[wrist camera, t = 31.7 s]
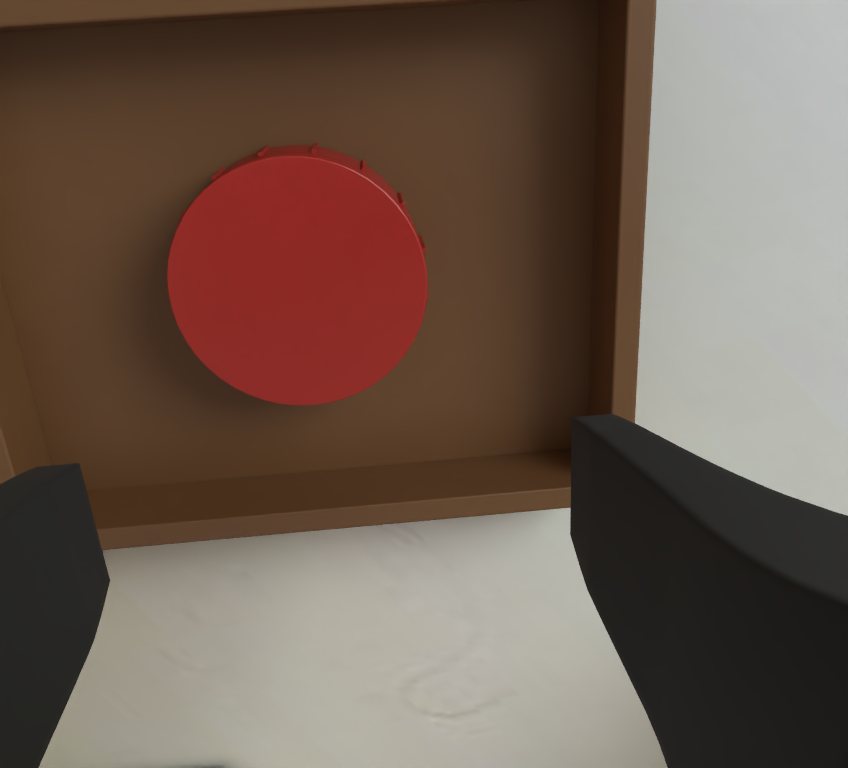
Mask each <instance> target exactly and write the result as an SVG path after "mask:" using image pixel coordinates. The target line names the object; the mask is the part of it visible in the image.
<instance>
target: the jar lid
mask: <svg viewBox="0 0 848 768" xmlns="http://www.w3.org/2000/svg"><path fill="white" fill-rule="evenodd" d="M211 179H212V180H213V181H212V182H211V183H210V184H209V185H208V186H207V187H206V188H205V189H204V190H203V191H202V192H201V193H200V194H199V195H198V196H197V197H196V198H195V199H194V200H193V202H192V203H191V204H190V206H189V207H188V208H187V209H186V210H185V211H184V212H183V213H182V214H181V215H180V217H179V219H181V220H180V222H179V224H178V226H177V228H176V230H175V233H174V236H173V239H172V243H171V246H170V250H169V256H168V262H167V287H168V296H169V301H170V305H171V309H172V313H173V315H174V318H175V320H176V323H177V326H178V328H179V330H180V332H181V334H182V335H183V337H184V339H185V341H186V343H187V344H188V345H189V347H190V348H191V349H192V351H193V352H194V354H195V355H196V356H197V357H198V358H199V359H200V361H201V362H202V363H203V364H204V365H205V366H206V367H207V368H208V369H209V370H210V371H212V372H213V373H214V374H215V375H216V376H218V377H219V378H220V379H222V380H223V381H225V382H226V383H228V384H229V385H231V386H232V387H234V388H236V389H238V390H240V391H242V392H244V393H246V394H248V395H250V396H253V397H256V398H259V399H262V400H265V401H269V402H274V403H278V404H286V405H295V406H302V405H319V404H326V403H331V402H335V401H339V400H342V399H345V398H348V397H350V396H353V395H355V394H358V393H360V392H362V391H363V390H365V389H367V388H369V387H371V386H372V385H374V384H375V383H377V382H378V381H379V380H381V379H382V378H384V377H385V376H386V375H387V374H388V373H389V372H390V371H391V370H392V369H393V368H394V367H395V366H396V365H397V364H398V363H399V362H400V360H401V359H402V358H403V357H404V356H405V354H406V353H407V351H408V350H409V348H410V346H411V345H412V343H413V342H414V340H415V337H416V335H417V333H418V331H419V329H420V326H421V323H422V320H423V316H424V313H425V308H426V302H427V301H428V277H427V268H426V262H425V258H424V253H425V252H427V251H426V247H425V244H424V241H423V238H422V236H421V235H420V236H418V234H417V230H416V228H415V225H414V223H413V220H412V218H411V215H410V214H409V212H408V210H407V208H406V205H405V202H404V198H403V195H402V194H401V192H399V193H398V194H397V193H396V192H395V191H394V189H393V188H392V187H391V186H390V185H389V184H388V183H387V182H386V181H385V180H384V179H383V178H382V177H381V176H380V175H378V174H377V173H376V172H375V171H373V170H372V169H371V168H370V167H368V166H367V163H366V161H365V160H363V159H362V161H361V162H360V161H358V160H356V159H354V158H352V157H350V156H347V155H345V154H343V153H341V152H337V151H334V150H330V149H327V148H322V147H319V143H314V144H313V146H309V145H288V146H280V147H273V148H270V149H269V146H268V145H266V146H263V148H262V149H261V150H260V151H259V152H256V153H254V154H251V155H249V156H247V157H244V158H243V159H241V160H239V161H238V162H236V163H234V164H232V165H231V166H229V167H228V168H227V169H225V168H224V167H222V168H221V169H219V170H218V171H217V172H216V173H215V174H214V175H213V176H212V177H211Z"/></svg>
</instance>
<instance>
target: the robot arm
mask: <svg viewBox="0 0 848 768" xmlns="http://www.w3.org/2000/svg"><path fill="white" fill-rule="evenodd" d="M570 535H571V538H572V541H573V545H574V548H575V551H576V555H577V558H578V561H579V565H580V568H581V571H582V574H583V577H584V580H585V583H586V586H587V589H588V592H589V594H590V596H591V598H592V600H593V602H594V605H595V607H596V609H597V611H598V613H599V615H600V617H601V619H602V621H603V624H604V626H605V628H606V630H607V632H608V634H609V636H610V638H611V640H612V642H613V644H614V647H615V649H616V651H617V653H618V655H619V657H620V659H621V661H622V663H623V665H624V667H625V669H626V671H627V673H628V676H629V678H630V680H631V682H632V684H633V686H634V688H635V690H636V692H637V694H638V696H639V698H640V700H641V702H642V705H643V707H644V709H645V711H646V713H647V715H648V718H649V720H650V722H651V725H652V727H653V729H654V732H655V734H656V736H657V739H658V741H659V744H660V747H661V750H662V752H663V755H664V758H665V761H666V764H667V767H668V768H848V516H846V515H843V514H839V513H836V512H833V511H830V510H827V509H824V508H821V507H819V506H816V505H813V504H810V503H807V502H804V501H801V500H798V499H795V498H792V497H790V496H787V495H784V494H782V493H779V492H777V491H774V490H772V489H769V488H767V487H764V486H762V485H760V484H757V483H755V482H753V481H750V480H748V479H746V478H744V477H741V476H739V475H737V474H734V473H732V472H730V471H728V470H726V469H723V468H721V467H719V466H717V465H715V464H713V463H711V462H709V461H707V460H705V459H703V458H701V457H699V456H697V455H695V454H693V453H691V452H689V451H687V450H685V449H683V448H681V447H679V446H677V445H675V444H673V443H671V442H669V441H668V440H666V439H664V438H662V437H660V436H658V435H656V434H654V433H652V432H650V431H649V430H647V429H645V428H643V427H641V426H639V425H637V424H635V423H633V422H631V421H629V420H627V419H624V418H622V417H620V416H617V415H614V414H604V415H593V416H582V417H572V419H571V532H570ZM109 582H110V579H109V575H108V571H107V567H106V564H105V560H104V556H103V552H102V548H101V544H100V541H99V537H98V533H97V529H96V525H95V521H94V518H93V514H92V510H91V506H90V502H89V498H88V495H87V491H86V487H85V483H84V479H83V475H82V472H81V468H80V464H79V463H73V464H62V465H51V466H41V467H35V468H33V469H30V470H28V471H25V472H23V473H21V474H19V475H17V476H15V477H13V478H11V479H9V480H7V481H5V482H4V483H2V484H0V768H38V767H39V765H40V763H41V760H42V758H43V756H44V754H45V751H46V749H47V747H48V745H49V742H50V740H51V738H52V736H53V733H54V731H55V729H56V727H57V724H58V722H59V720H60V718H61V715H62V713H63V711H64V709H65V706H66V704H67V702H68V700H69V697H70V695H71V693H72V691H73V688H74V686H75V684H76V681H77V679H78V677H79V674H80V672H81V670H82V668H83V665H84V663H85V661H86V658H87V656H88V654H89V651H90V649H91V646H92V644H93V641H94V639H95V635H96V632H97V628H98V625H99V621H100V618H101V614H102V610H103V606H104V602H105V598H106V594H107V590H108V586H109Z"/></svg>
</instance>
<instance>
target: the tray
mask: <svg viewBox="0 0 848 768" xmlns="http://www.w3.org/2000/svg"><path fill="white" fill-rule="evenodd" d="M655 18H656V0H0V484H2V483H4V482H5V481H7V480H9V479H11V478H13V477H15V476H17V475H19V474H21V473H23V472H25V471H28V470H30V469H33V468H35V467H41V466H51V465H62V464H73V463H79V464H80V468H81V472H82V475H83V479H84V483H85V487H86V491H87V495H88V498H89V502H90V506H91V510H92V514H93V518H94V521H95V525H96V529H97V533H98V537H99V541H100V544H101V548H102V550H108V549H119V548H130V547H141V546H152V545H163V544H174V543H185V542H196V541H207V540H218V539H229V538H240V537H251V536H262V535H273V534H283V533H294V532H305V531H316V530H327V529H338V528H349V527H360V526H371V525H382V524H393V523H404V522H415V521H426V520H437V519H448V518H459V517H470V516H481V515H492V514H503V513H514V512H525V511H536V510H547V509H558V508H569V507H571V419H572V417H582V416H593V415H604V414H614V415H617V416H620V417H622V418H624V419H627V420H629V421H631V422H633V423H635V407H636V387H637V368H638V348H639V329H640V309H641V290H642V271H643V251H644V232H645V212H646V193H647V173H648V154H649V135H650V115H651V96H652V76H653V57H654V37H655ZM314 143H319V147H322V148H327V149H330V150H334V151H337V152H341V153H343V154H345V155H347V156H350V157H352V158H354V159H356V160H358V161H360V162H361V161H362V159H363V160H365V161H366V163H367V166H368V167H370V168H371V169H372V170H373V171H375V172H376V173H377V174H378V175H380V176H381V177H382V178H383V179H384V180H385V181H386V182H387V183H388V184H389V185H390V186H391V187H392V188H393V189H394V191H395V192H396V193H397V194H398V193H399V192H401V194H402V195H403V198H404V202H405V205H406V208H407V210H408V212H409V214H410V215H411V218H412V220H413V223H414V225H415V228H416V230H417V234H418V236H420V235H421V236H422V238H423V241H424V244H425V247H426V251H427V252H425V253H424V258H425V262H426V268H427V277H428V301H427V302H426V308H425V313H424V316H423V320H422V323H421V326H420V329H419V331H418V333H417V335H416V337H415V340H414V342H413V343H412V345H411V346H410V348H409V350H408V351H407V353H406V354H405V356H404V357H403V358H402V359H401V360H400V362H399V363H398V364H397V365H396V366H395V367H394V368H393V369H392V370H391V371H390V372H389V373H388V374H387V375H386V376H385V377H384V378H382V379H381V380H379V381H378V382H377V383H375V384H374V385H372V386H371V387H369V388H367V389H365V390H363V391H362V392H360V393H358V394H355V395H353V396H350V397H348V398H345V399H342V400H339V401H335V402H331V403H326V404H319V405H302V406H295V405H286V404H278V403H274V402H269V401H265V400H262V399H259V398H256V397H253V396H250V395H248V394H246V393H244V392H242V391H240V390H238V389H236V388H234V387H232V386H231V385H229V384H228V383H226V382H225V381H223V380H222V379H220V378H219V377H218V376H216V375H215V374H214V373H213V372H212V371H210V370H209V369H208V368H207V367H206V366H205V365H204V364H203V363H202V362H201V361H200V359H199V358H198V357H197V356H196V355H195V354H194V352H193V351H192V349H191V348H190V347H189V345H188V344H187V343H186V341H185V339H184V337H183V335H182V334H181V332H180V330H179V328H178V326H177V323H176V320H175V318H174V315H173V313H172V309H171V305H170V301H169V296H168V287H167V262H168V256H169V250H170V246H171V243H172V239H173V236H174V233H175V230H176V228H177V226H178V224H179V222H180V220H181V219H179V217H180V215H181V214H182V213H183V212H184V211H185V210H186V209H187V208H188V207H189V206H190V204H191V203H192V202H193V200H194V199H195V198H196V197H197V196H198V195H199V194H200V193H201V192H202V191H203V190H204V189H205V188H206V187H207V186H208V185H209V184H210V183H211V182H212V181H213V180H212V179H211V177H212V176H213V175H214V174H215V173H216V172H217V171H218V170H219V169H221V168H222V167H224V168H225V169H227V168H228V167H229V166H231V165H232V164H234V163H236V162H238V161H239V160H241V159H243V158H244V157H247V156H249V155H251V154H254V153H256V152H259V151H260V150H261V149H262V148H263V146H266V145H268V146H269V149H270V148H273V147H280V146H288V145H309V146H313V144H314Z"/></svg>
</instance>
